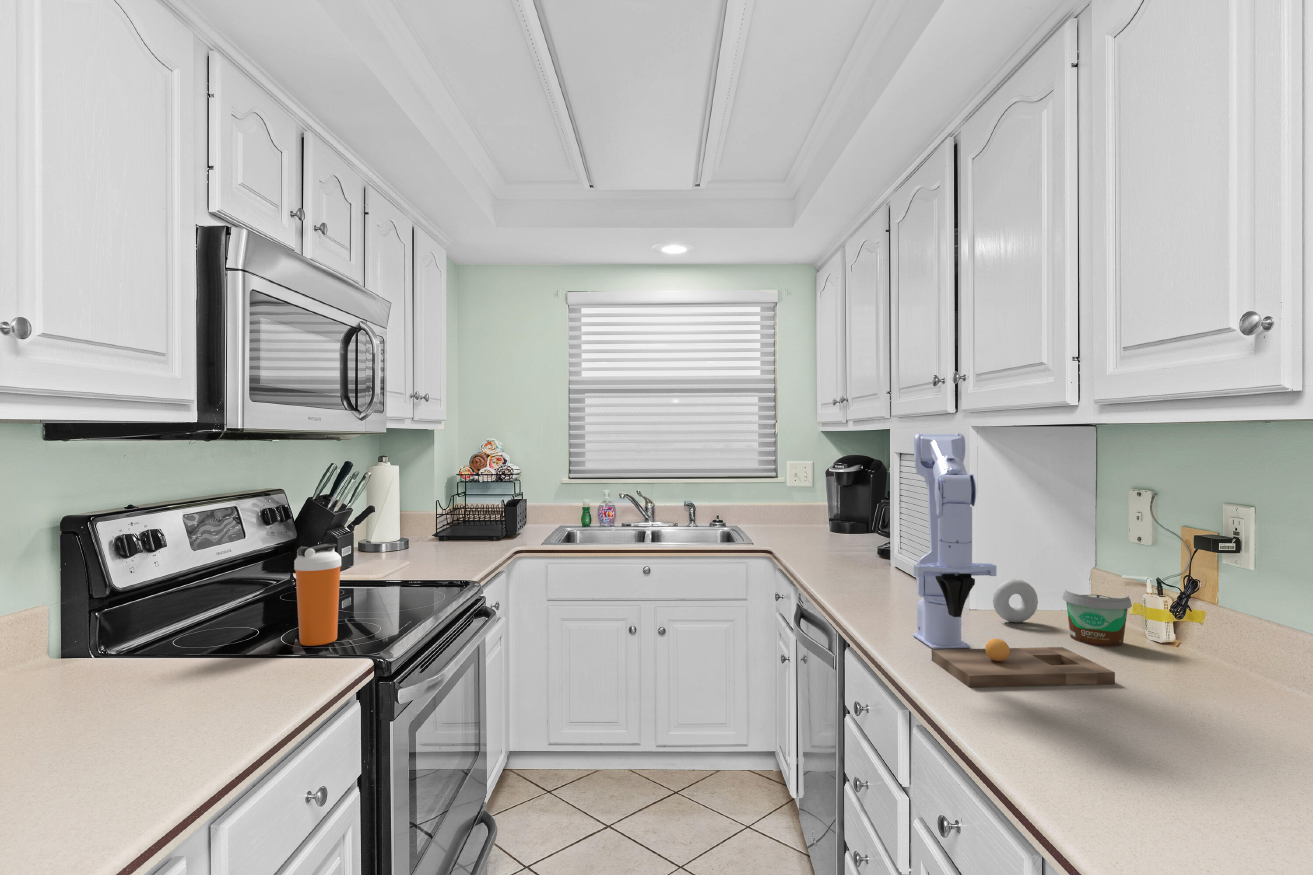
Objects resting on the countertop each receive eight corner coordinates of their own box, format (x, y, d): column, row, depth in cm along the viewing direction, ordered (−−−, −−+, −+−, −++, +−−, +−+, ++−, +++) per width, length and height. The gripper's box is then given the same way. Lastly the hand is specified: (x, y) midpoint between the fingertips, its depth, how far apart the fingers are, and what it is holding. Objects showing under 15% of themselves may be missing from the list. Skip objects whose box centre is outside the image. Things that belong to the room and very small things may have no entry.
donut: (996, 624, 155) (997, 580, 155) (989, 620, 158) (989, 577, 158) (1041, 624, 155) (1041, 580, 155) (1032, 620, 158) (1033, 577, 158)
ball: (980, 657, 126) (981, 635, 126) (1001, 656, 126) (1001, 635, 126) (992, 664, 122) (992, 642, 122) (1014, 664, 122) (1014, 642, 122)
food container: (1063, 643, 141) (1064, 594, 141) (1062, 635, 147) (1062, 588, 147) (1136, 652, 135) (1136, 601, 135) (1131, 643, 141) (1131, 595, 141)
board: (931, 659, 131) (931, 649, 131) (1062, 657, 132) (1062, 646, 132) (969, 687, 117) (969, 675, 117) (1114, 683, 118) (1114, 672, 118)
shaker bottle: (350, 638, 145) (350, 544, 145) (310, 649, 138) (309, 550, 137) (326, 632, 150) (325, 541, 150) (285, 642, 142) (285, 547, 142)
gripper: (925, 544, 119) (925, 622, 119) (1006, 543, 120) (1006, 620, 120) (908, 538, 126) (908, 611, 126) (984, 537, 127) (984, 610, 127)
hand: (954, 615), depth 124 cm, fingers closed
